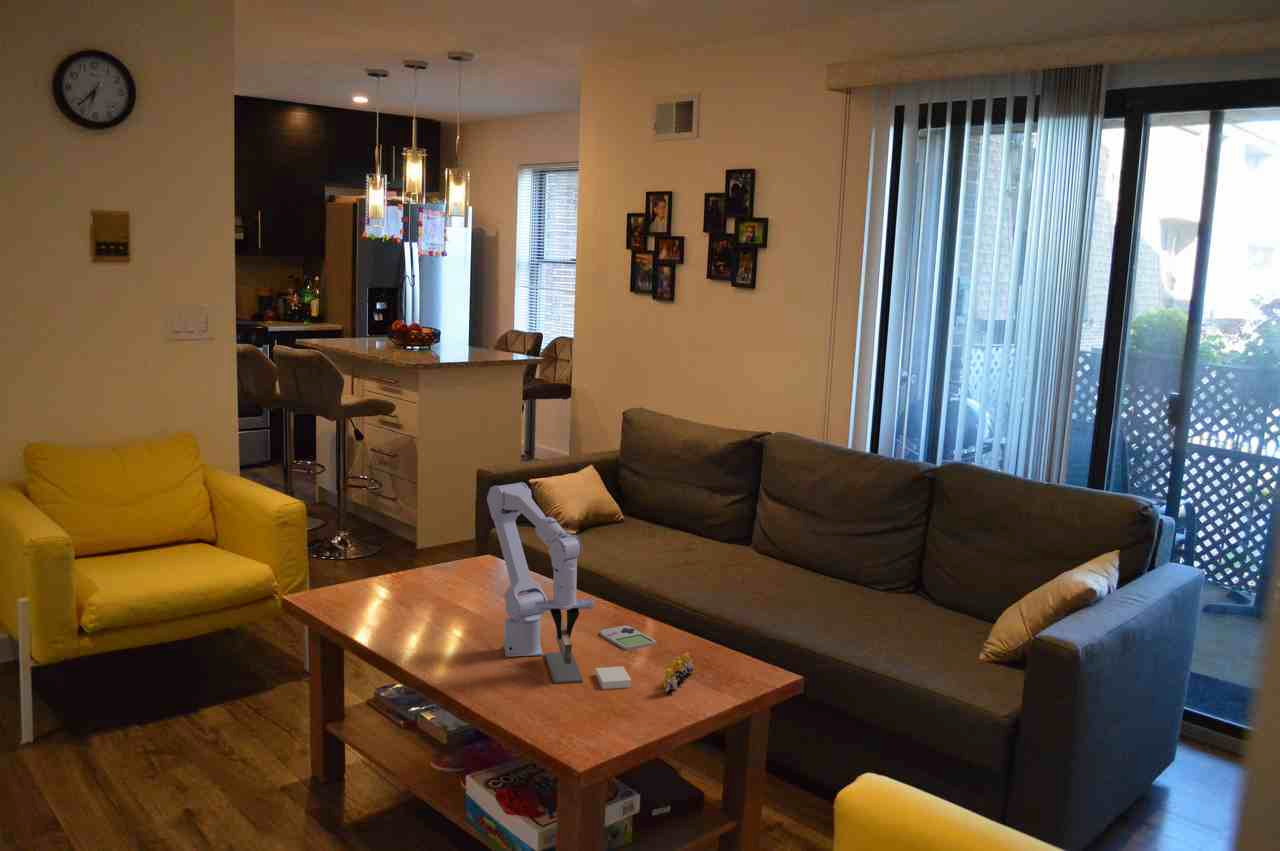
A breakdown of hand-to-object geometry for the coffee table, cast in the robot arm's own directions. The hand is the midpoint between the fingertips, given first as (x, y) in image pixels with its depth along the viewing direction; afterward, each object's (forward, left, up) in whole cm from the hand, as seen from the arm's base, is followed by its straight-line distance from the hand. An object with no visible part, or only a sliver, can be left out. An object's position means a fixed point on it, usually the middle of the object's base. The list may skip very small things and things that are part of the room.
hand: (563, 637), depth 259 cm
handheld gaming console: (+20, +19, -9) cm, 29 cm away
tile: (+11, -5, -7) cm, 14 cm away
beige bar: (0, 0, -3) cm, 4 cm away
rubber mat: (0, 0, -8) cm, 8 cm away
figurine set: (+26, -14, -8) cm, 31 cm away
